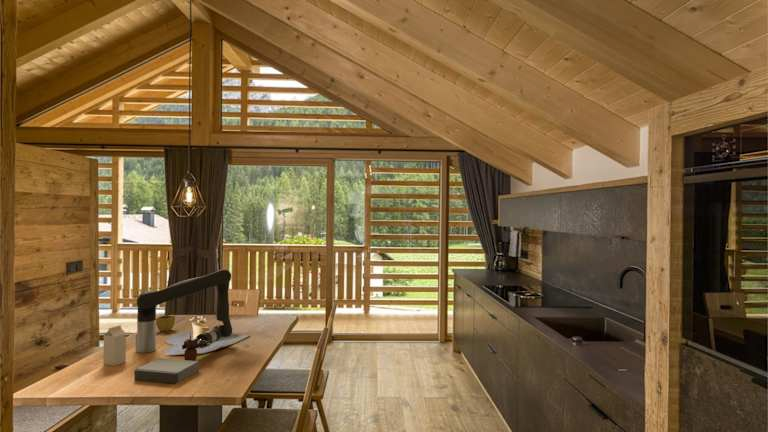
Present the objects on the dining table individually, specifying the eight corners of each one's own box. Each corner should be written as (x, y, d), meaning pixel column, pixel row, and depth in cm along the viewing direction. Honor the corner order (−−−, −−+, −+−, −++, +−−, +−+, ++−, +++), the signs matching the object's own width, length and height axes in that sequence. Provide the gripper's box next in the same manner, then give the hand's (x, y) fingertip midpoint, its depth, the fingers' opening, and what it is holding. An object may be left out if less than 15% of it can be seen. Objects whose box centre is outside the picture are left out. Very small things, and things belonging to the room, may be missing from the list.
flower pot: (167, 332, 298) (167, 319, 298) (155, 332, 300) (155, 318, 299) (175, 329, 306) (175, 315, 306) (164, 328, 308) (164, 315, 308)
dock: (134, 380, 216) (134, 369, 215) (159, 367, 232) (159, 358, 232) (176, 384, 211) (176, 373, 211) (198, 371, 228) (198, 361, 228)
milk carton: (125, 362, 241) (125, 325, 241) (113, 366, 234) (113, 329, 234) (115, 360, 243) (115, 324, 243) (103, 364, 237) (103, 327, 236)
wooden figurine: (187, 360, 244) (187, 332, 244) (198, 360, 245) (198, 331, 244) (182, 364, 237) (182, 335, 237) (194, 364, 238) (194, 335, 238)
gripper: (194, 331, 256) (175, 339, 240) (218, 332, 254) (199, 341, 237) (194, 344, 256) (175, 353, 240) (218, 346, 254) (199, 355, 237)
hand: (187, 347), depth 238 cm, fingers closed on wooden figurine, 4 cm apart
